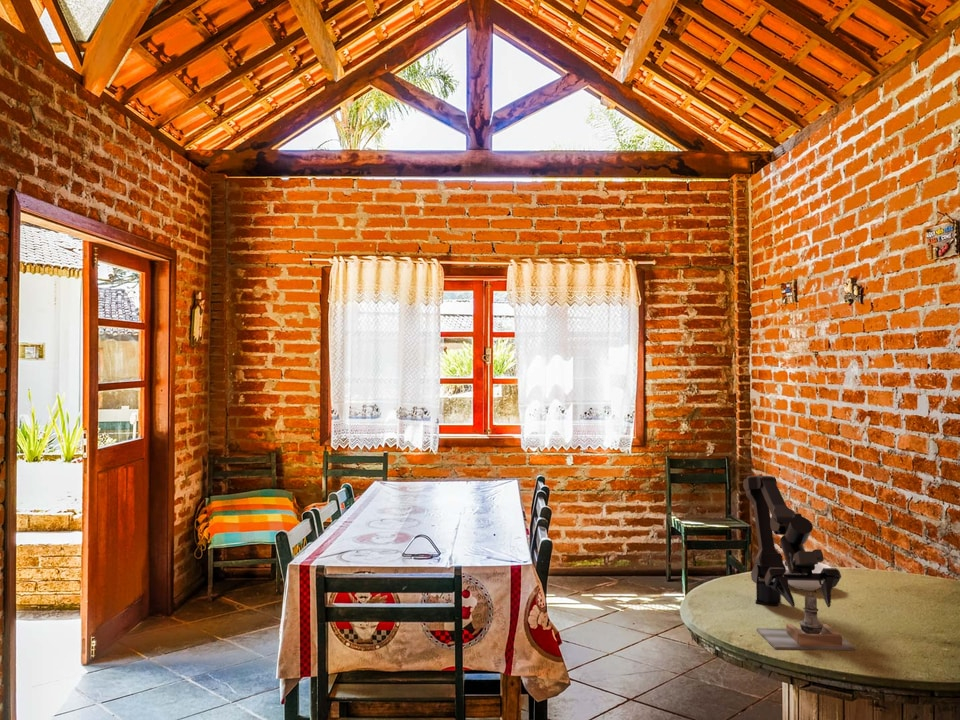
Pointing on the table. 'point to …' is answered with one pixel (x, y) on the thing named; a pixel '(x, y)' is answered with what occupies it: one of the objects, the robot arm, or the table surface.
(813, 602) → the salt shaker
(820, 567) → the cereal bowl
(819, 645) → the wooden u-frame tray
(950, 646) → the table surface
